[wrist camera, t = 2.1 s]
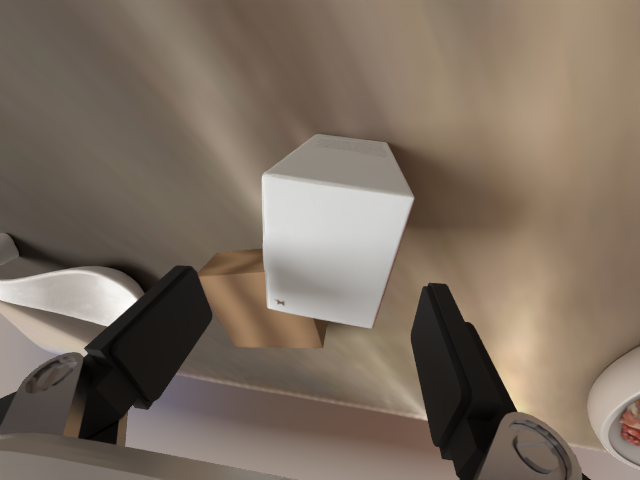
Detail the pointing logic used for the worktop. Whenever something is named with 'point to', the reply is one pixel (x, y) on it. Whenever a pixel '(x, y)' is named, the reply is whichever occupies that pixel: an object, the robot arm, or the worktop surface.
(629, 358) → the bowl
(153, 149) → the worktop surface
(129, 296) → the spoon rest
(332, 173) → the small box
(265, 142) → the worktop surface
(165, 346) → the robot arm
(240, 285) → the tan block
